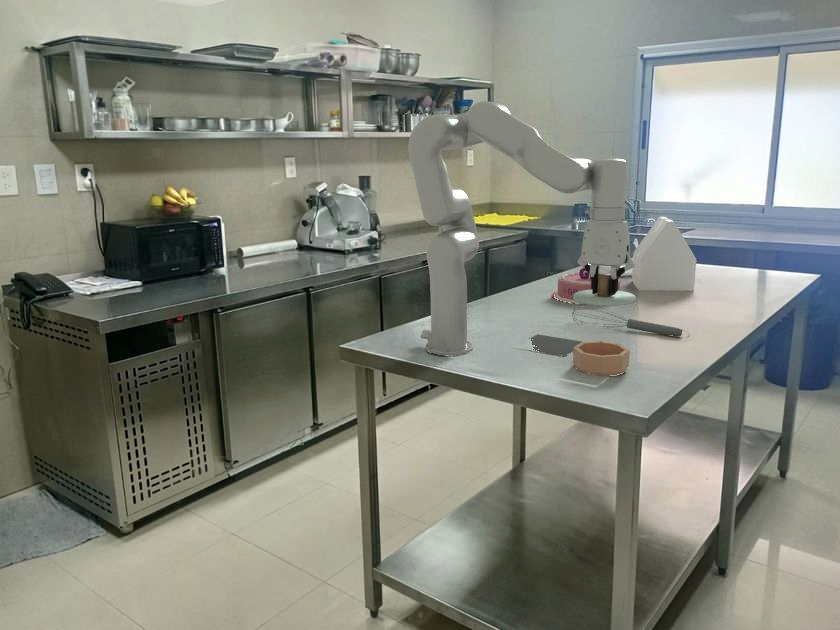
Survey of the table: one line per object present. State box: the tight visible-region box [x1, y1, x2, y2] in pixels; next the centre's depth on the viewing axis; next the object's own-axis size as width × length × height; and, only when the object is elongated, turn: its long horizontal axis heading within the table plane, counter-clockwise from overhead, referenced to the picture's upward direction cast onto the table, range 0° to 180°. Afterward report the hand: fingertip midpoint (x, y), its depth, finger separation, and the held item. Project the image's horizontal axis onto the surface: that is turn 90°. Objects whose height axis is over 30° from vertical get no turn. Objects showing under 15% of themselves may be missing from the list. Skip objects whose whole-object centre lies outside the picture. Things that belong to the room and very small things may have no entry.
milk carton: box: [631, 216, 697, 292], centre depth 246 cm, size 19×15×25 cm
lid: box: [573, 272, 636, 307], centre depth 155 cm, size 14×14×6 cm
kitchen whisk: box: [571, 305, 690, 338], centre depth 191 cm, size 6×34×6 cm, turn 56°
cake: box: [551, 267, 621, 306], centre depth 233 cm, size 25×25×11 cm
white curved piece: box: [600, 238, 639, 277], centre depth 267 cm, size 5×19×15 cm, turn 113°
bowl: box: [572, 340, 631, 376], centre depth 159 cm, size 12×12×5 cm
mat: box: [528, 333, 583, 358], centre depth 178 cm, size 15×15×1 cm
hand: (604, 293), depth 155 cm, fingers closed on lid, 3 cm apart
